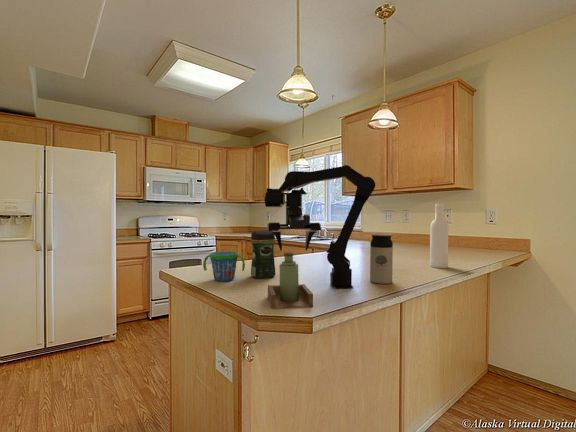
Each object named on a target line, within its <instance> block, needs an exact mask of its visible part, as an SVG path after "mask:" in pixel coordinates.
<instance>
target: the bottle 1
mask: <svg viewBox="0 0 576 432" xmlns="http://www.w3.org/2000/svg"><path fill="white" fill-rule="evenodd" d="M283 256H284V261H282V262H281V264H279V266H278V267H279V285H280V300H281V301H283V302H295V301H298V300H299V264H298V263H296V261H294V252H288V251H287V252H284V253H283Z"/></svg>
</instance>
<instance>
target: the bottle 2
mask: <svg viewBox="0 0 576 432" xmlns="http://www.w3.org/2000/svg"><path fill="white" fill-rule="evenodd" d="M434 209H435V210H434V212H435V215H434V216H435V217H434V219H433V220H432V221H431V223H430V227H429V229H430V230H429V231H430V232H429V267H431V268H436V269H447V268H449V223H448V222H447V220H445V218H444V215H445V214H444V212H445V210H444V209H445V205H444V204H443V203H435V205H434Z"/></svg>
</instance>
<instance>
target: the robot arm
mask: <svg viewBox="0 0 576 432" xmlns="http://www.w3.org/2000/svg"><path fill="white" fill-rule="evenodd" d="M343 178H344V179H345V180H347V181H349V182H350V183H351V184H352V185H354V186H355V187H356V190H355V195H354V198H353V202H352V205H351V207H350V209H349V212H348V214H347V217H346V219H345V221H344V222H343V226H342V228H341V231H340V232H339V235H338V237H337V239H336V240H335V241H334V240H333V239H332V240H331V241H330V245H329V248H328V249H327V250H326V254H327V256H326V258H327V262H328V263H329V264H330V265H331V266H332V267H331V272H330V273H329V274H330V275H329V277H330V279H329V282H330V283H329V285H331V286H332V287H333V288H334V289H353V288H354V286H353V285H352V277H353V275H352V274H353V273H352V271H353V270H352V268H350V267H351V261H350V259H348V258H347V257H346V250H347V248H348V244H349V239H350V237H351V235H352V233H353V230H354V228H355V225H356V223H357V221H358V219H359V217H360V214H361V212H362V210H363V207H364V206H365V204H366V202H367V201H368V199H369V198H370V196H371V195H372V193H373V192H374V190H375V189H376V181H375V180H374V179H373V177H370V176H364V175H363V174H362V173H360V172H358V171H357V170H355V169H353V168H352V167H351V166H350V165H347V164H345V165H341V166H337V167H330V168H324V169H317V170H312V171H303V170H302V171H301V170H298V171H297V170H293V171H289V172H287V174H286V175H285V177H284V181H283V183H282V184H281V185H280V186H279V188H271V187H270V188H269V187H267V188H266V192H265V195H264V205H265V207H266V208H282V207H283V205H285V223H281V222H279V221H278V222H277V221H276V222H275V221H273V222H270V221H269V222H267V225H266V227H267V229H266V230H268V231H271V233H274V235H275V240H276V241H277V244H278V247H279V250H280V252H283V251H282V250H283V245H282V235H281V234H282V233H281V231H280V230H305V244H304V247H305V249H304V250H305V251H308V248H309V246H310V243H311V240H312V238H313V236H314V234H317V233H318V231H322V226H321V223H320V222H315V221H312V222H311V216H310V214H309V213H308V214H306V213H305V214H303V195H304V196H305V195H308V192H307V190H305V188H304V187H306V186H307V185H310V184H313V183H320V182H325V181H331V180H336V179H337V180H338V179H343Z"/></svg>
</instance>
